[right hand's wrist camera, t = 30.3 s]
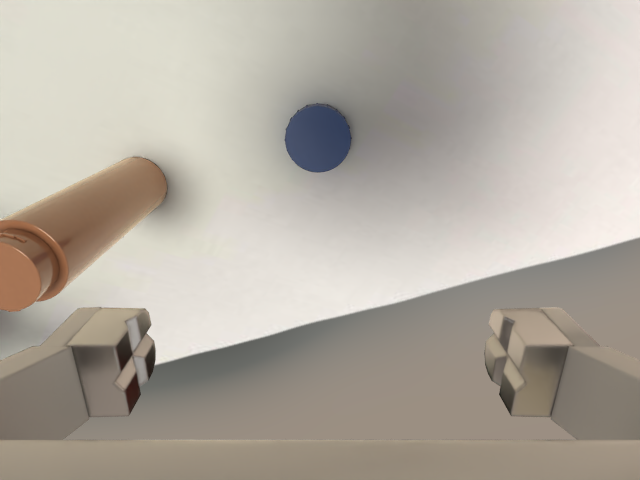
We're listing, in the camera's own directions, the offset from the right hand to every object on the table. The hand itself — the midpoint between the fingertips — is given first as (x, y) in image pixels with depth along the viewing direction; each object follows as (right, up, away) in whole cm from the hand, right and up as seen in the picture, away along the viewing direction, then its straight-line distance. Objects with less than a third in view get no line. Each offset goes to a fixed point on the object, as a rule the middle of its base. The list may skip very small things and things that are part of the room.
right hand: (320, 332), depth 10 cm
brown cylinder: (-16, +7, +29) cm, 34 cm away
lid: (0, +11, +26) cm, 28 cm away
